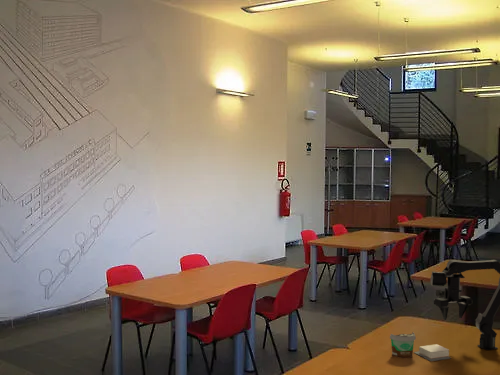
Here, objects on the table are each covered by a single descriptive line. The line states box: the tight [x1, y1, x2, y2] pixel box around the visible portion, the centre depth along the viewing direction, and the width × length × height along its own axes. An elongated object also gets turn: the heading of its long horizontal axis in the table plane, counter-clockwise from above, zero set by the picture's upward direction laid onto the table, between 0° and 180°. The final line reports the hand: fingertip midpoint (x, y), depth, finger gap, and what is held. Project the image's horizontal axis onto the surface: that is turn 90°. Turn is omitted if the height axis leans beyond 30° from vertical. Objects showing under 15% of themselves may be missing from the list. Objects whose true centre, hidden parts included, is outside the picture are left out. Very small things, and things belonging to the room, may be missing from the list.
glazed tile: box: [418, 343, 450, 359], centre depth 248 cm, size 3×8×10 cm
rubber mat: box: [413, 350, 451, 362], centre depth 248 cm, size 11×12×1 cm
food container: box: [389, 331, 416, 359], centre depth 246 cm, size 12×6×10 cm, turn 105°
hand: (452, 318), depth 261 cm, fingers open, 9 cm apart
